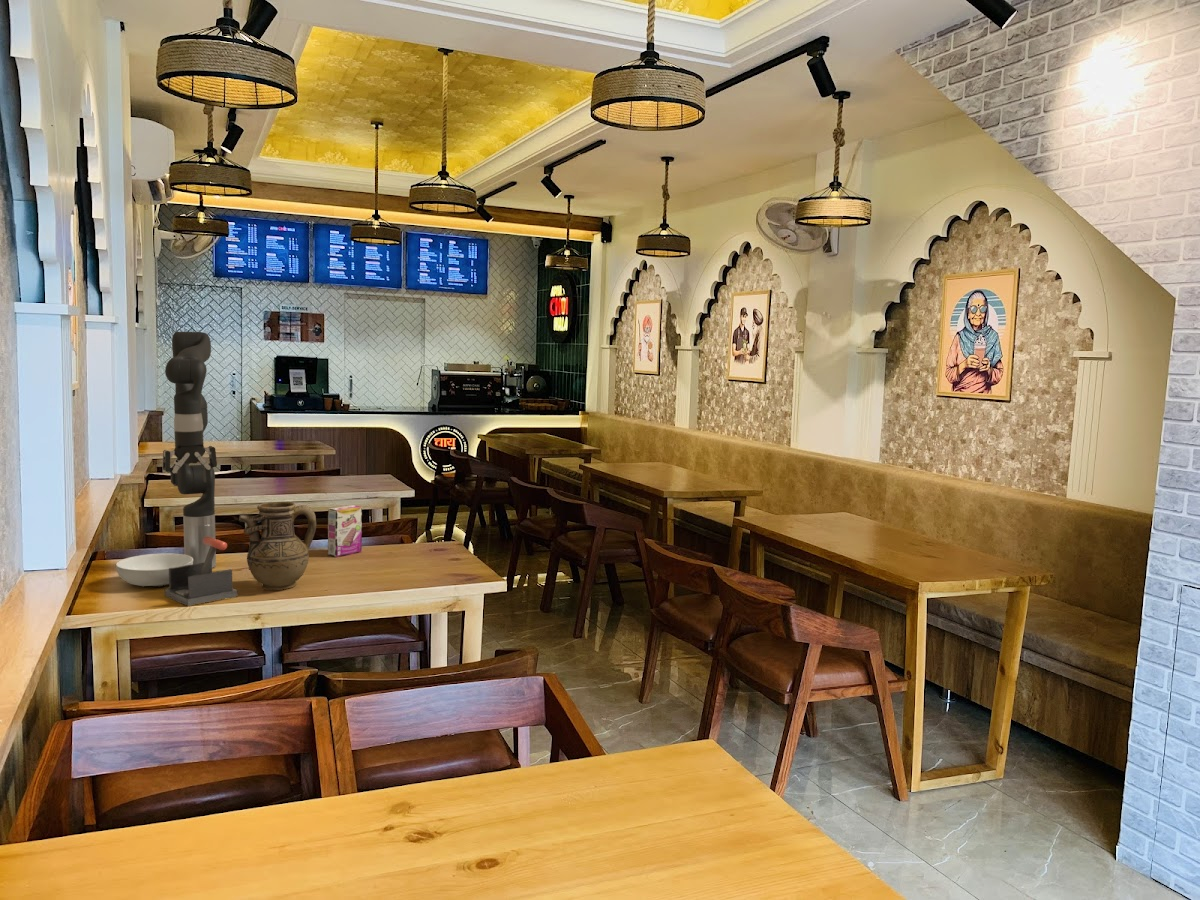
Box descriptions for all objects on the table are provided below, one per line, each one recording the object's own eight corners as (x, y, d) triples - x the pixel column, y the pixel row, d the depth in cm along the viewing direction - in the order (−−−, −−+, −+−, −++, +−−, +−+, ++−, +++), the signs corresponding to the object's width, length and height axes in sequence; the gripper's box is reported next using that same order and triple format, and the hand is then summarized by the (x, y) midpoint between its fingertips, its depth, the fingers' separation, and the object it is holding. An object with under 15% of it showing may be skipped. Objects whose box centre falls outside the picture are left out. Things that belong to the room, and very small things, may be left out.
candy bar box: (336, 557, 308) (336, 510, 306) (327, 555, 311) (326, 508, 309) (362, 552, 317) (362, 506, 315) (353, 550, 320) (353, 504, 318)
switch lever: (204, 586, 253) (220, 540, 255) (188, 580, 260) (204, 535, 262) (211, 588, 255) (228, 543, 257) (196, 581, 261) (212, 537, 264)
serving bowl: (113, 595, 257) (112, 571, 257) (119, 577, 277) (118, 555, 276) (193, 589, 266) (192, 566, 265) (194, 572, 285) (193, 551, 284)
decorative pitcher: (315, 577, 282) (313, 498, 279) (319, 591, 265) (318, 507, 263) (240, 582, 274) (238, 501, 271) (240, 597, 258) (238, 511, 255)
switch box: (188, 606, 248) (187, 578, 247) (164, 595, 258) (163, 568, 257) (237, 596, 258) (236, 569, 257) (213, 587, 268) (212, 560, 267)
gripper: (209, 425, 267) (211, 478, 269) (158, 428, 257) (160, 484, 260) (218, 428, 261) (220, 483, 264) (166, 432, 252) (169, 489, 254)
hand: (191, 483), depth 262 cm, fingers open, 8 cm apart
